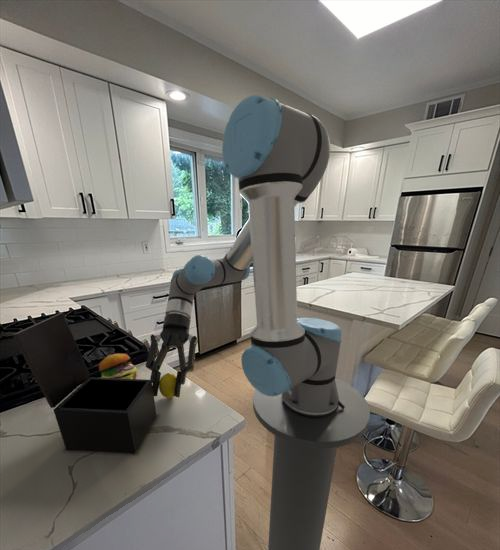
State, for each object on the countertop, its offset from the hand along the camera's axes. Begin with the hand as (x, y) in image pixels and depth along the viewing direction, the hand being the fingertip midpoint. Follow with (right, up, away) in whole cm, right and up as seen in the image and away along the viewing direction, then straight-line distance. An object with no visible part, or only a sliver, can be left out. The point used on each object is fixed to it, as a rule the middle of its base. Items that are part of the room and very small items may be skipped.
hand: (165, 395), depth 74 cm
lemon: (0, -2, +5) cm, 5 cm away
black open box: (-10, -7, -8) cm, 14 cm away
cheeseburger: (-18, +2, +13) cm, 23 cm away
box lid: (-18, +11, -15) cm, 26 cm away
